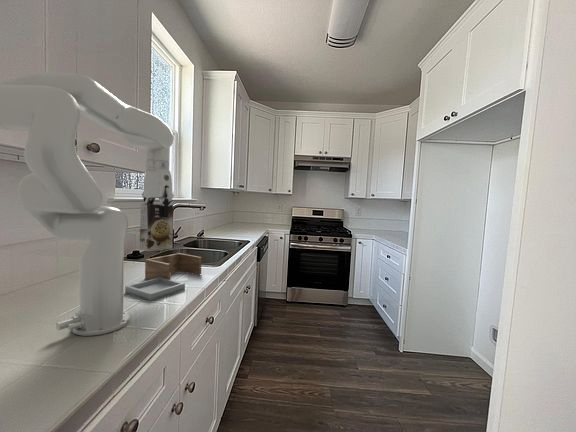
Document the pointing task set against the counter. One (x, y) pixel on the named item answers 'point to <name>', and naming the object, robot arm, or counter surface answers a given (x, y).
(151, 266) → the brown open box
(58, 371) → the counter surface
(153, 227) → the coffee box
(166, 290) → the tray
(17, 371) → the counter surface
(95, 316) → the robot arm
